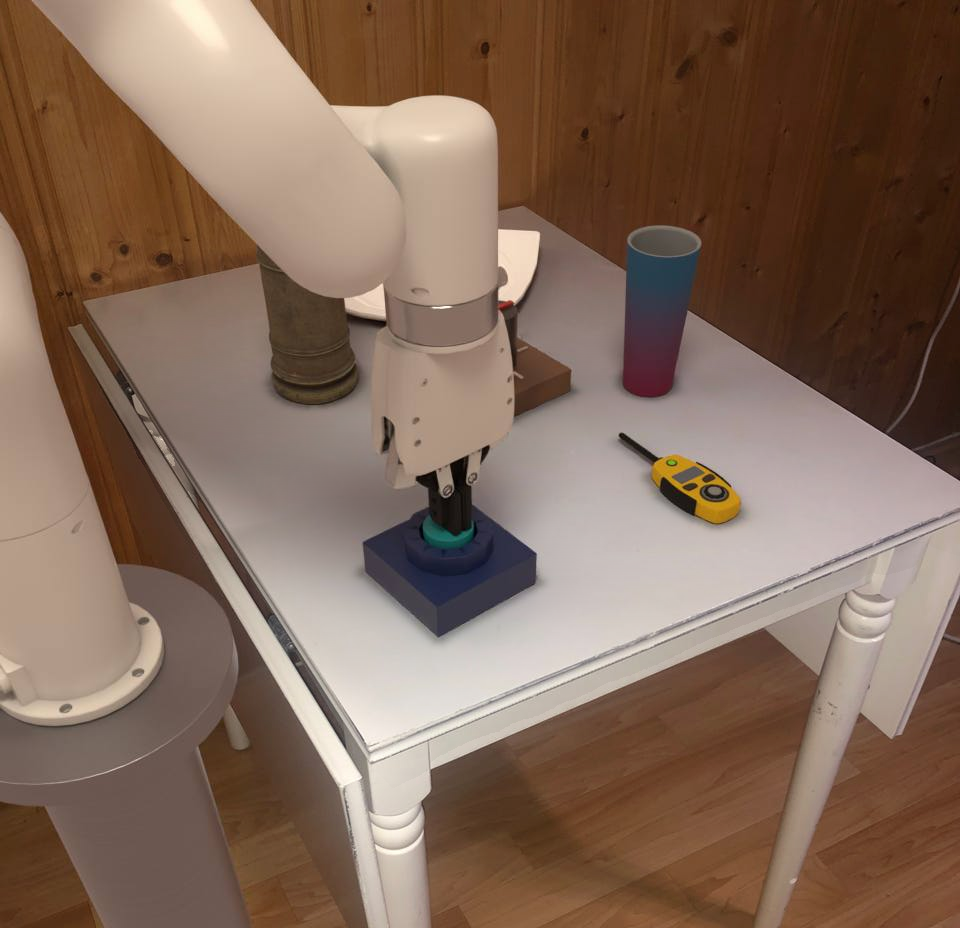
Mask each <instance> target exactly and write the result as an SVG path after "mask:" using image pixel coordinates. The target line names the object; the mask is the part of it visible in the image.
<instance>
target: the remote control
mask: <svg viewBox="0 0 960 928" xmlns="http://www.w3.org/2000/svg"><path fill="white" fill-rule="evenodd" d="M618 438H619V439H620V440H622V441H623V442H625V443H626V444H627V445H629V446H630V447H631V448H633V449H634V450H636V451H637V452H638V453H640V454H642V455H643V456H644V457H646V458H647V459H648V460H650V461H651V462H652V463H653V465H652V467H651V469H652V470H651V479H652V480H653V482H654V483H655V484H656V486H657V487H658V488H659V491H660V492H661V493H662V494H663V496H664V497H665V498H667V499H668V500H669V501H670V502H671V503H672V504H674V505H675V506H677V507H678V508H679V509H681V510H683V511H685V512H686V513H688V514H690V515H691V516H698V517H699V518H701V519H703V520H706V521H708V522H710V523H712V524H722V523H725V522H727V521H730V520H731V519H734V518H735V517H736V516H737V515H738V514H739V513H740V510H741V507H742V506H741V505H742V499H741V497H740V496H739V494H738V493H737V492H736V490H734V488H732V485H731V484H730V483H729V482H728V481H727V480H726V479H725V478H724V477H723V476H721V475H720V474H719V473H718V472H716V471H714V470H713V469H711V468H710V467H708V466H706V465H705V464H702V463H701V462H699V461H696V462H695V461H693V460H691V459H689V458H687V457H685V456H682V455H679V454H670V455H667V456H664V457H658V456H657V455H655V454H654V453H652V452H651V451H649V450H648V449H647V448H645V447H644V446H642V445H641V444H640V443H638V442H637V441H635V440H634V439H633V438H631V437H630V436H628V435H627V434H626V433H624V432H619V433H618Z"/></svg>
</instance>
